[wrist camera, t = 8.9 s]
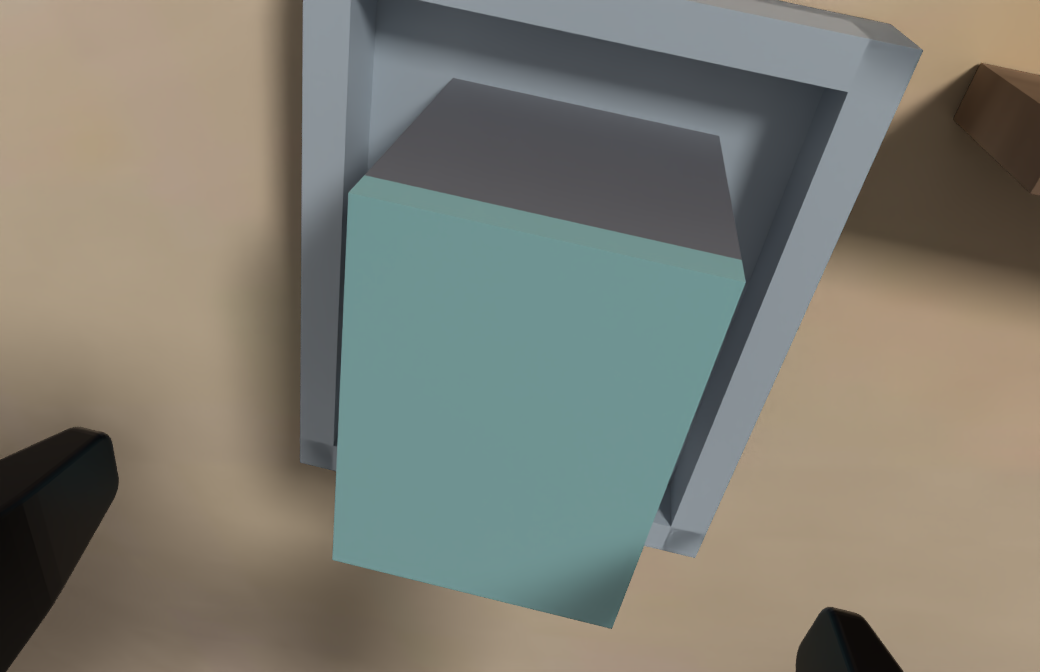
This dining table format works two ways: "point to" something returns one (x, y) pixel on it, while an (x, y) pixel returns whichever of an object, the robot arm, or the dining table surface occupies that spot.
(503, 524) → the teal rectangular block
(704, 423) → the tray
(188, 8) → the dining table surface
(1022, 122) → the bay
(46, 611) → the robot arm
